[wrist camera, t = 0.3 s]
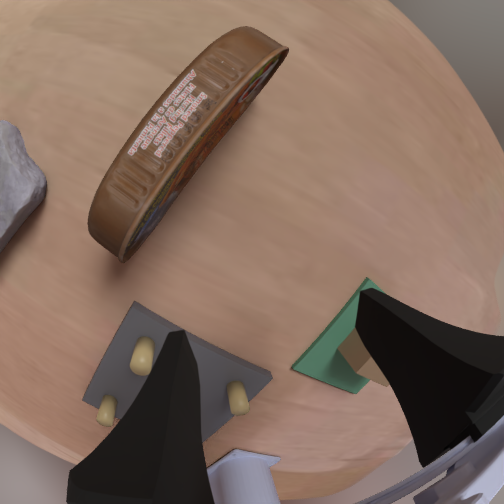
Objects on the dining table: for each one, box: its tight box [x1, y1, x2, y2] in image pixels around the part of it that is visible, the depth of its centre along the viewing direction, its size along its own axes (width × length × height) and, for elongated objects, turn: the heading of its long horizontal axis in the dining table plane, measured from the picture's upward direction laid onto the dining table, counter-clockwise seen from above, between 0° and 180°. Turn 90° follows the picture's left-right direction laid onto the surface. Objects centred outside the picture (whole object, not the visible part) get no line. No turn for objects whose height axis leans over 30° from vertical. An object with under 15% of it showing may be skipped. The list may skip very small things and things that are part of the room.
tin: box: [88, 26, 289, 263], centre depth 13 cm, size 15×3×8 cm, turn 142°
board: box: [292, 277, 389, 394], centre depth 24 cm, size 11×11×5 cm
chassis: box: [83, 301, 273, 443], centre depth 21 cm, size 14×14×4 cm
